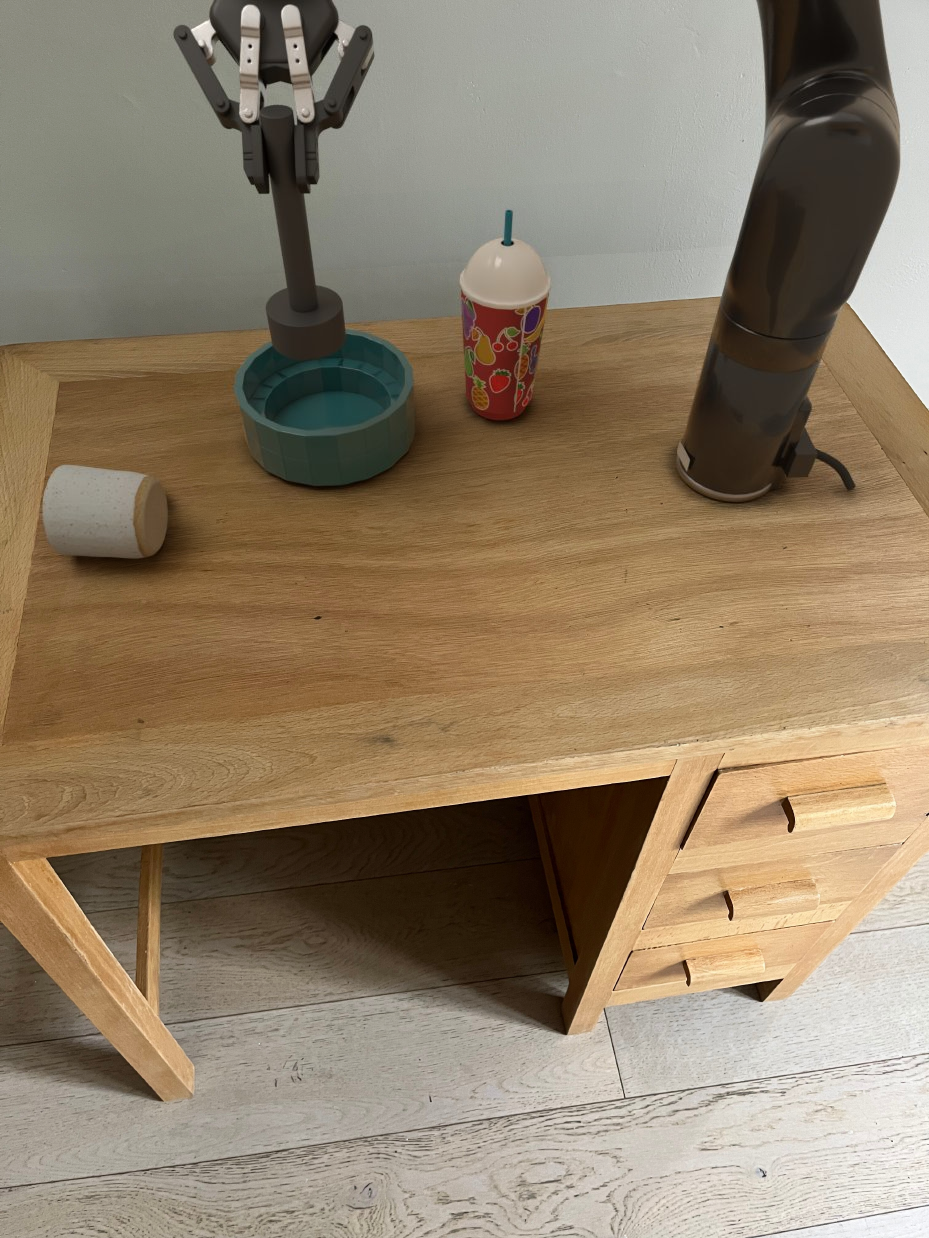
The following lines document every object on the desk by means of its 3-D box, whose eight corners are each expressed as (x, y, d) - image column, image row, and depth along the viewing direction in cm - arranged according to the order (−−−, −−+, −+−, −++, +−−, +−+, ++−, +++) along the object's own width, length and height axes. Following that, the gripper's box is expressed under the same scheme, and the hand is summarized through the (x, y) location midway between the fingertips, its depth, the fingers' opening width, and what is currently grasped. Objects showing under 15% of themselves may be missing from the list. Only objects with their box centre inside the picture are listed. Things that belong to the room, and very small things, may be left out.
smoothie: (555, 411, 88) (578, 218, 72) (488, 440, 85) (497, 246, 69) (507, 370, 92) (519, 180, 77) (442, 396, 89) (441, 204, 74)
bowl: (413, 380, 91) (411, 326, 86) (417, 488, 81) (415, 433, 75) (255, 384, 90) (243, 329, 85) (238, 493, 80) (224, 438, 75)
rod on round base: (361, 334, 70) (340, 107, 57) (312, 369, 67) (278, 138, 54) (306, 309, 72) (273, 86, 59) (256, 342, 69) (210, 114, 56)
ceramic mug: (158, 576, 73) (132, 510, 67) (62, 573, 73) (28, 507, 67) (187, 493, 80) (166, 426, 74) (99, 490, 80) (71, 423, 74)
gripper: (145, -130, 52) (163, 168, 54) (372, -129, 53) (382, 166, 55) (179, -49, 60) (194, 211, 62) (379, -48, 60) (387, 209, 62)
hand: (283, 188), depth 58 cm, fingers closed on rod on round base
